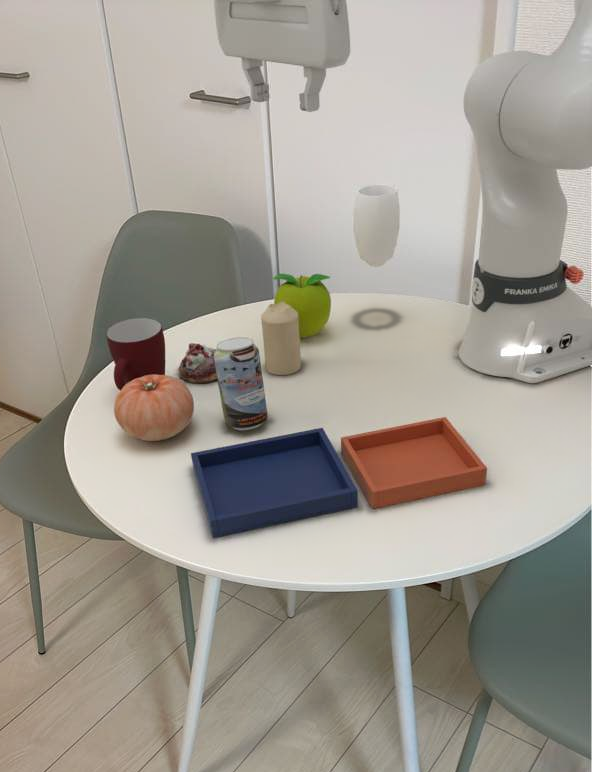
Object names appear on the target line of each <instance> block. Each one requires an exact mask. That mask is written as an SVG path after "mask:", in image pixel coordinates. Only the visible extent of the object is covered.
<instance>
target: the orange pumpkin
mask: <svg viewBox="0 0 592 772" xmlns="http://www.w3.org/2000/svg"><path fill="white" fill-rule="evenodd" d="M194 407H195V404H194V397H193V394H192V392H191V391H190V389H189V388H188V387H187V386H186V384H184V383H183V382H182V381H181V380H179V379H177V378H175V377H174V376H170V375H168V374H167V375H166V374H165V375H156V374H155V375H146V376H143V377H140V378H136V379H134V380H132V381H130V382H129V383H127V384H126V385H125V386H124V387H123V388H122V390H121V391H120V390H119V392H118V393H117V395H116V397H115V401H114V406H113V411H114V413H113V414H114V418H115V420H116V422H117V424H118V426H119V427H121V428H120V429H122V430H123V431H124V432H125V433H126V434H128V435H129V436H131V437H132V438H135V439H137V440H141V441H147V442H148V441H149V442H157V441H158V442H159V441H164V440H168V439H171V438H172V437H173V438H174V436H176V435H178V434H179V433H181V432H182V431H183V430H185V428H186V427H187V426H188V425H189V423H190V422H191V419H192V418H193V414H194V410H195V409H194Z"/></svg>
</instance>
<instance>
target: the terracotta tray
mask: <svg viewBox="0 0 592 772" xmlns="http://www.w3.org/2000/svg"><path fill="white" fill-rule="evenodd" d="M340 454H341V455H342V457H343V459H344V461H345V463H346V464H347V466H348V468H349V470H350V471H351V473H352V475H353V477H354V479H355V480H356V482H357V484H358V486H359V487H360V489H361V491H362V493H363V494H364V496H365V498H366V500H367V502H368V504H369V505H370V507H371V509H372V510H374V509H378V508H384V507H388V506H393V505H397V504H402V503H407V502H411V501H416V500H421V499H425V498H430V497H435V496H440V495H444V494H449V493H453V492H458V491H463V490H469V489H473V488H477V487H482V486H486V483H487V482H486V481H487V474H488V467H487V466H486V464H485V463H484V462H483V461H482V460H481V458H480V457H479V455H477V454H476V452H475V451H474V450H473V449H472V447H471V446H470V445H469V444H468V442H467V441H466V440H465V438H464V437H463V436H462V435H461V434H460V432H459V431H458V430H457V429H456V428H455V426H454V425H453V424H452V423H451V422H450V420H449V419H448V418H447V416H443V417H437V418H432V419H426V420H422V421H418V422H411V423H407V424H402V425H398V426H392V427H388V428H382V429H375V430H372V431H366V432H361V433H356V434H351V435H347V436H341V437H340Z"/></svg>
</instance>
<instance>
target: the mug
mask: <svg viewBox="0 0 592 772" xmlns="http://www.w3.org/2000/svg"><path fill="white" fill-rule="evenodd" d="M105 333H106V334H105V335H106V342H107V345H108V349H109V353H110V356H111V358H112V360H113V363H114V368H113V381H114V384H115V387H116V389H118V391H119V392H120V391H121V390H122V388H123V387H124V386H125V385H126V384H127V383H129V382H130V381H132V380H134V379H136V378H140V377H143V376H146V375H155V374H156V375H166V341H165V334H164V330H163V325H162V323H161V322H159V320H156V319H154V318H148V317H137V318H136V317H135V318H129V319H125V320H121V321H120V322H117V323H115V324H113V325H111V326H110V327H108V329H107V331H106V332H105Z"/></svg>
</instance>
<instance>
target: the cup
mask: <svg viewBox="0 0 592 772" xmlns="http://www.w3.org/2000/svg"><path fill="white" fill-rule="evenodd" d="M398 190H399V189H398V188H397V187H395V186H393V185H390V184H383V183H381V184H380V183H379V184H377V183H376V184H368V185H364V186H361V187H359V188H357V191H356V193H355V194H356V195H355V202H354V209H353V233H354V241H355V247H356V249H357V253H358V255H359V258H360V259H361V260H362V261H364V262H365V263H366V264H367V265H368V266H369V267H373V268H378V267H382V266H384V265H385V264H386V263H387V262H388V261H390V260H391V259H392V258H393V256H394V253H395V250H396V247H397V244H398V243H397V242H398V237H399V232H400V225H401V224H400V223H401V222H400V221H401V220H400V218H401V217H400V213H401V212H400V211H401V210H400V207H401V206H400V199H399V191H398Z"/></svg>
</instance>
